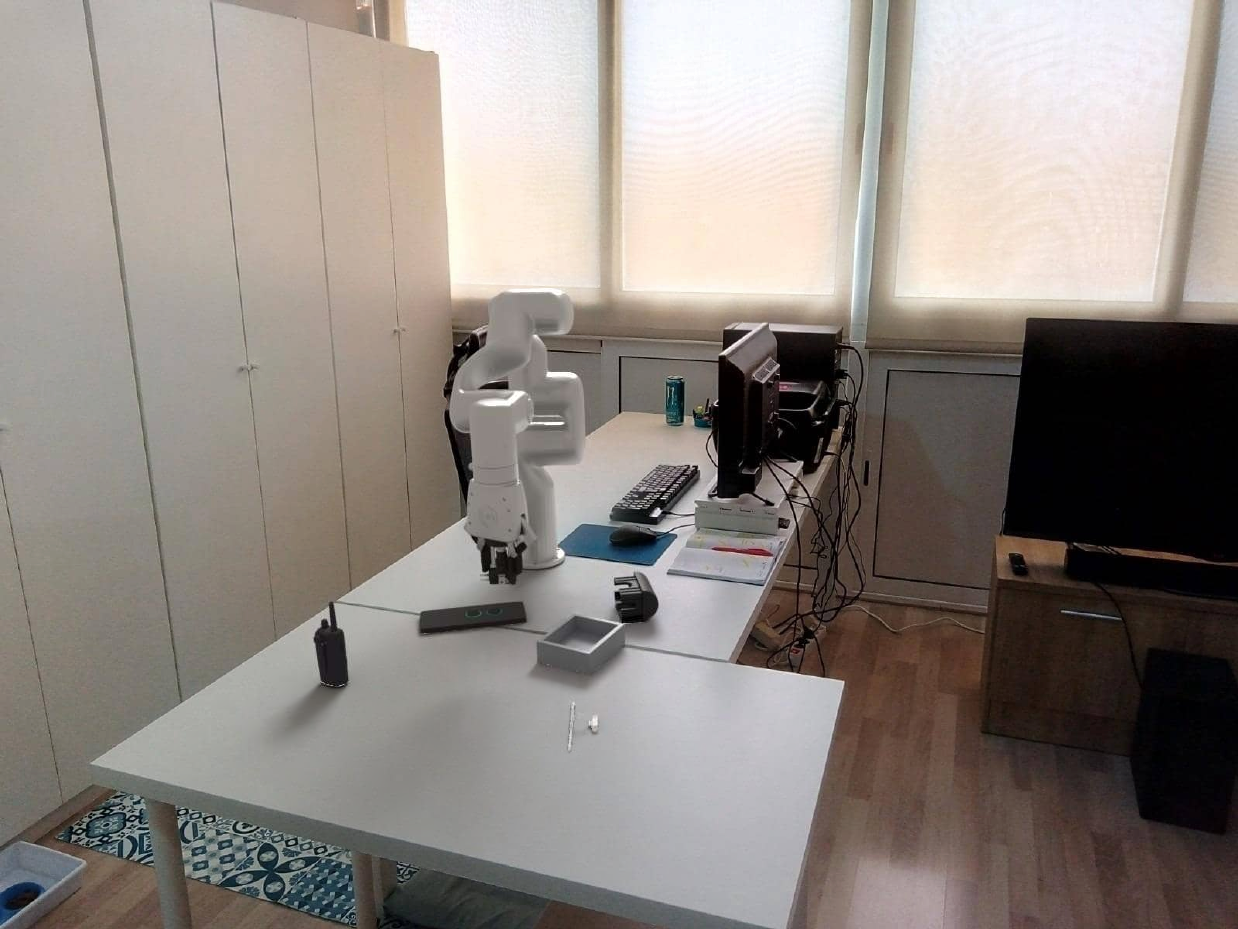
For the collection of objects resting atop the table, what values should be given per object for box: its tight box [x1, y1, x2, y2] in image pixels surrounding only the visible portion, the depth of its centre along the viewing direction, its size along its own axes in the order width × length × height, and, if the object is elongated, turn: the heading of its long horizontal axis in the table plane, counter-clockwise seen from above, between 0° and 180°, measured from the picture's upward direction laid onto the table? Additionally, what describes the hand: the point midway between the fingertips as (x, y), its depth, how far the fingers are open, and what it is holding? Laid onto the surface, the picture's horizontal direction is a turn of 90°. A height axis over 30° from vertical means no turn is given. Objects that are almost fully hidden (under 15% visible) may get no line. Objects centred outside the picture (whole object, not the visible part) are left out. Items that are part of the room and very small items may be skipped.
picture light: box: [567, 701, 599, 749], centre depth 136 cm, size 14×4×2 cm, turn 0°
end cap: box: [613, 570, 660, 624], centre depth 173 cm, size 10×7×7 cm
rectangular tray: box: [535, 612, 626, 676], centre depth 158 cm, size 11×13×4 cm
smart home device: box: [419, 600, 528, 634], centre depth 172 cm, size 8×2×20 cm
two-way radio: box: [313, 601, 350, 686], centre depth 147 cm, size 6×4×15 cm
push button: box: [479, 539, 518, 586], centre depth 154 cm, size 7×5×10 cm
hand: (502, 571), depth 155 cm, fingers closed on push button, 5 cm apart
